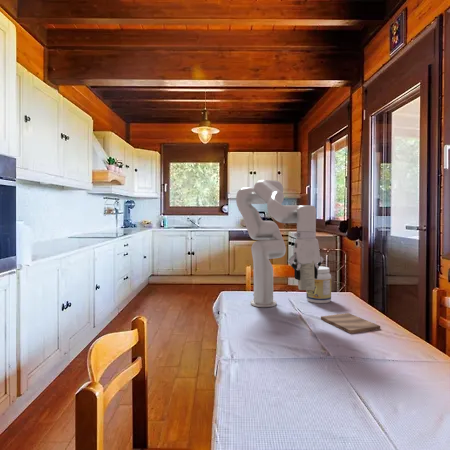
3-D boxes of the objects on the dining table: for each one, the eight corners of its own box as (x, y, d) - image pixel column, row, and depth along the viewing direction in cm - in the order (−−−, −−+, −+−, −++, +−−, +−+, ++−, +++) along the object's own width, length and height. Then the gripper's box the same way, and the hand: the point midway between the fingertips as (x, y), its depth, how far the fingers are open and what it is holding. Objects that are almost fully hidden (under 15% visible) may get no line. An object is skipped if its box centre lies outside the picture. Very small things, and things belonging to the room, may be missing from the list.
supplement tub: (301, 299, 173) (301, 266, 172) (319, 296, 178) (319, 265, 178) (318, 305, 162) (318, 270, 161) (336, 301, 168) (336, 268, 167)
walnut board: (320, 319, 140) (320, 316, 140) (348, 315, 145) (348, 313, 145) (350, 333, 123) (350, 330, 123) (380, 329, 128) (380, 325, 128)
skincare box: (313, 288, 139) (313, 258, 139) (314, 290, 135) (315, 260, 135) (297, 287, 140) (297, 258, 140) (298, 290, 136) (298, 260, 135)
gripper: (292, 236, 130) (292, 282, 131) (329, 235, 136) (329, 279, 137) (282, 235, 137) (282, 278, 138) (319, 234, 143) (318, 275, 144)
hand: (306, 278), depth 137 cm, fingers closed on skincare box, 7 cm apart
